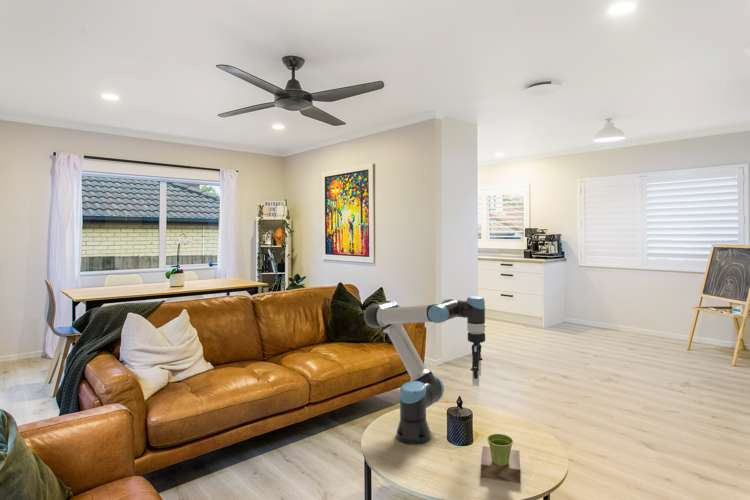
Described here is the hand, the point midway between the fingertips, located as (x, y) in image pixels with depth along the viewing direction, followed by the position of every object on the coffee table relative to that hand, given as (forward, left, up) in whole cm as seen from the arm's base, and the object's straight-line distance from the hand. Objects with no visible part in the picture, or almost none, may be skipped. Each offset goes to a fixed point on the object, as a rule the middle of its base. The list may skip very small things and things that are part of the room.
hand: (476, 380), depth 186 cm
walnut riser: (+10, -22, -27) cm, 36 cm away
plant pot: (+10, -26, -22) cm, 35 cm away
